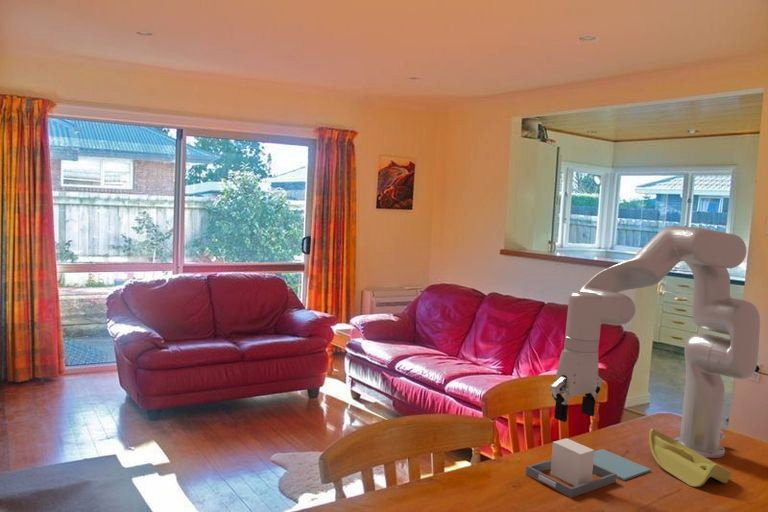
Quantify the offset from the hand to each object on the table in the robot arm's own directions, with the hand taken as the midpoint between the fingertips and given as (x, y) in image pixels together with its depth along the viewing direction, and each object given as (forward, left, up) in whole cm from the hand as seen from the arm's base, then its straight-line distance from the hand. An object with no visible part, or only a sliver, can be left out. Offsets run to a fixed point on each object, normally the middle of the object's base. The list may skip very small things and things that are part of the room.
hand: (574, 417), depth 146 cm
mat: (-17, 0, -15) cm, 22 cm away
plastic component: (-31, +11, -15) cm, 36 cm away
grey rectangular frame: (-1, 0, -15) cm, 15 cm away
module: (0, 0, -15) cm, 15 cm away
